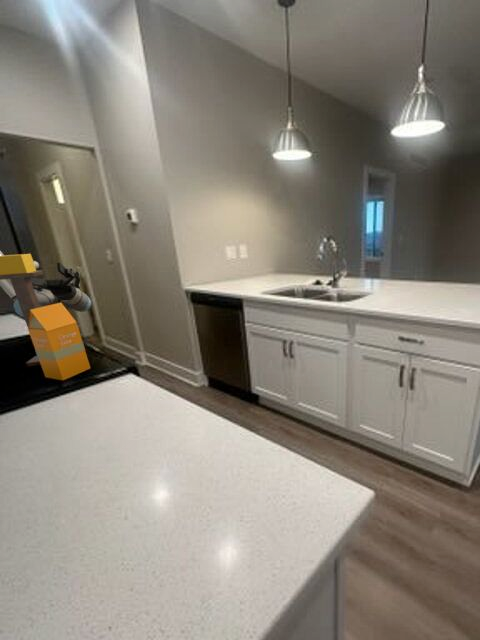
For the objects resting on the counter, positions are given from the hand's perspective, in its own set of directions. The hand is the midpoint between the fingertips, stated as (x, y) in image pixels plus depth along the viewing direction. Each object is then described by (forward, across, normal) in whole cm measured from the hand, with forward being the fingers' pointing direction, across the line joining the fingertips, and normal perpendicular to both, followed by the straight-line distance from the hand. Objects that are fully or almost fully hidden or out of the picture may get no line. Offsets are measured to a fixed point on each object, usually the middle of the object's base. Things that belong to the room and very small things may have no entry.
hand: (34, 268), depth 111 cm
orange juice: (+7, +10, +37) cm, 39 cm away
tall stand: (-5, 0, +30) cm, 30 cm away
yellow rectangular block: (+5, 0, +3) cm, 6 cm away
